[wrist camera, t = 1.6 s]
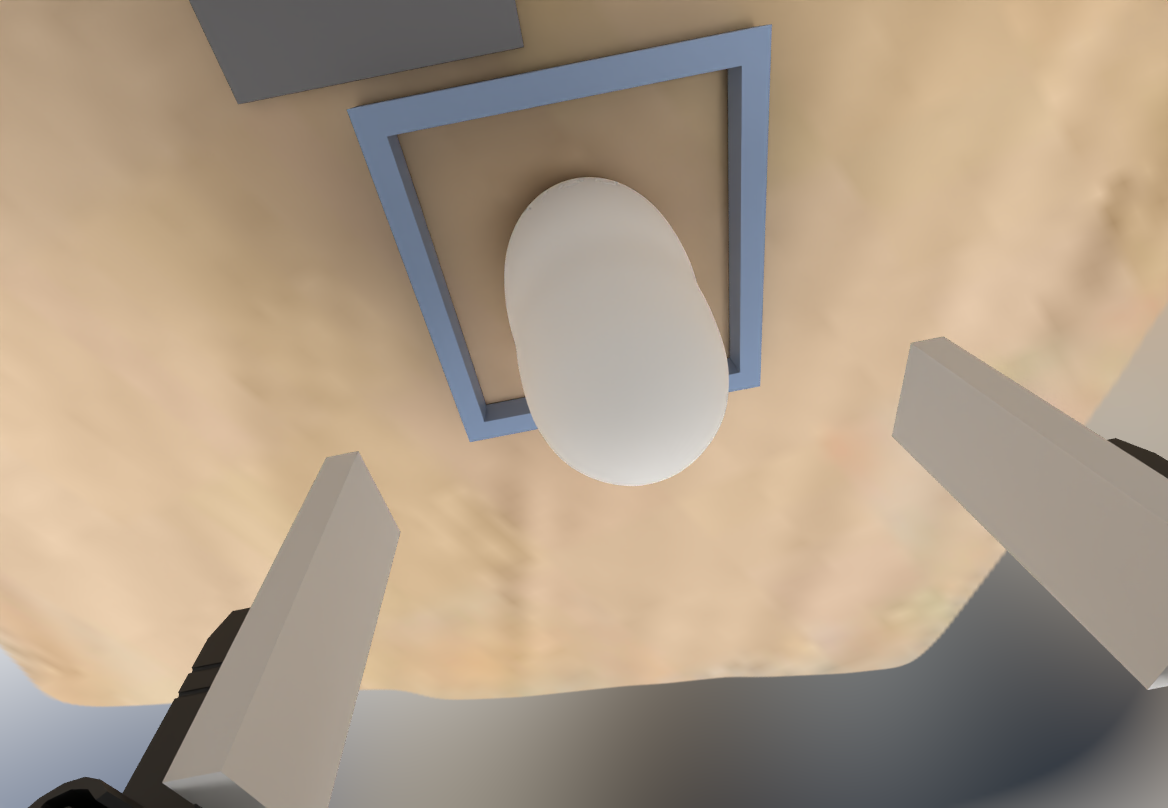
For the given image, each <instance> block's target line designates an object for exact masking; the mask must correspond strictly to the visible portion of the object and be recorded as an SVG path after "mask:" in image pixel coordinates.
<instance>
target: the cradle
mask: <svg viewBox="0 0 1168 808" xmlns="http://www.w3.org/2000/svg"><path fill="white" fill-rule="evenodd" d="M771 31H772V24H771V25H764V26H756V27H751V28H746V29H741V30H736V31H731V32H726V33H721V34H716V35H711V36H706V37H701V38H696V39H691V40H686V41H681V42H676V43H671V44H666V45H661V46H656V47H651V48H646V49H641V50H636V51H631V52H626V53H621V54H616V55H611V56H606V57H601V58H596V59H591V60H586V61H581V62H576V63H571V64H566V65H561V66H556V67H551V68H546V69H541V70H536V71H531V72H526V73H521V74H516V75H511V76H506V77H501V78H496V79H491V80H486V81H481V82H476V83H471V84H466V85H461V86H456V87H451V88H446V89H441V90H436V91H431V92H426V93H421V94H416V95H411V96H406V97H401V98H396V99H391V100H386V101H381V102H376V103H371V104H366V105H361V106H357V107H354V108H350V109H347V112H348V115H349V117H350V120H351V123H352V125H353V128H354V131H355V133H356V136H357V139H358V142H359V144H360V147H361V150H362V152H363V155H364V158H365V160H366V163H367V166H368V169H369V171H370V174H371V177H372V179H373V182H374V185H375V187H376V190H377V193H378V195H379V198H380V201H381V204H382V206H383V209H384V212H385V214H386V217H387V220H388V222H389V225H390V228H391V231H392V233H393V236H394V239H395V241H396V244H397V247H398V249H399V252H400V255H401V257H402V260H403V263H404V266H405V268H406V271H407V274H408V276H409V279H410V282H411V284H412V287H413V290H414V293H415V295H416V298H417V301H418V303H419V306H420V309H421V311H422V314H423V317H424V320H425V322H426V325H427V328H428V330H429V333H430V336H431V338H432V341H433V344H434V346H435V349H436V352H437V355H438V357H439V360H440V363H441V365H442V368H443V371H444V373H445V376H446V379H447V382H448V384H449V387H450V390H451V392H452V395H453V398H454V400H455V403H456V406H457V409H458V411H459V414H460V417H461V419H462V422H463V425H464V427H465V430H466V433H467V435H468V438H469V441H470V442H473V441H478V440H483V439H489V438H494V437H499V436H504V435H509V434H515V433H520V432H525V431H530V430H535V429H538V428H537V426H536V424H535V422H534V420H533V418H532V415H531V413H530V410H529V407H528V404H527V401H526V397H524V398H519V399H514V400H509V401H504V402H499V403H494V404H488V405H486V403H485V400H484V397H483V394H482V391H481V388H480V385H479V382H478V379H477V376H476V373H475V370H474V367H473V364H472V361H471V358H470V355H469V352H468V349H467V346H466V342H465V339H464V336H463V333H462V330H461V327H460V324H459V321H458V318H457V315H456V312H455V309H454V306H453V303H452V300H451V297H450V294H449V291H448V288H447V285H446V282H445V279H444V276H443V273H442V270H441V267H440V264H439V261H438V258H437V255H436V252H435V249H434V246H433V243H432V240H431V237H430V234H429V231H428V228H427V225H426V222H425V219H424V216H423V213H422V210H421V207H420V204H419V200H418V197H417V194H416V191H415V188H414V185H413V182H412V179H411V176H410V173H409V170H408V167H407V164H406V161H405V158H404V155H403V152H402V149H401V146H400V143H399V140H398V137H397V134H402V133H407V132H412V131H417V130H422V129H427V128H432V127H437V126H442V125H447V124H452V123H457V122H462V121H467V120H472V119H477V118H482V117H487V116H492V115H497V114H502V113H507V112H512V111H517V110H522V109H527V108H532V107H537V106H542V105H547V104H552V103H557V102H562V101H567V100H572V99H577V98H582V97H587V96H592V95H597V94H602V93H607V92H612V91H617V90H622V89H627V88H632V87H637V86H642V85H647V84H652V83H657V82H662V81H667V80H672V79H677V78H682V77H688V76H693V75H698V74H703V73H708V72H713V71H718V70H723V69H728V183H729V329H730V358H727V362H728V371H729V390H728V392H732V391H737V390H742V389H748V388H753V387H758V386H760V372H761V341H762V310H763V279H764V248H765V217H766V186H767V155H768V124H769V93H770V62H771Z"/></svg>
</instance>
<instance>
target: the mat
mask: <svg viewBox="0 0 1168 808" xmlns="http://www.w3.org/2000/svg"><path fill="white" fill-rule="evenodd" d="M189 1H190V3H191V5H192V8H193V10H194V12H195V14H196V16H197V18H198V20H199V22H200V25H201V27H202V29H203V31H204V33H205V35H206V37H207V39H208V41H209V44H210V46H211V48H212V50H213V52H214V54H215V56H216V58H217V61H218V63H219V65H220V67H221V69H222V71H223V73H224V75H225V77H226V80H227V82H228V84H229V86H230V88H231V90H232V92H233V94H234V97H235V99H236V101H237V103H238V104H242V103H248V102H253V101H258V100H263V99H267V98H272V97H277V96H282V95H287V94H292V93H297V92H302V91H307V90H312V89H317V88H322V87H327V86H332V85H337V84H342V83H347V82H352V81H357V80H362V79H367V78H372V77H377V76H382V75H387V74H392V73H397V72H402V71H407V70H412V69H417V68H422V67H427V66H432V65H437V64H442V63H447V62H452V61H457V60H462V59H467V58H472V57H477V56H482V55H486V54H491V53H496V52H501V51H506V50H511V49H516V48H521V47H524V45H523V40H522V35H521V29H520V24H519V19H518V14H517V8H516V3H515V0H189Z"/></svg>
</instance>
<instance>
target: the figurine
mask: <svg viewBox="0 0 1168 808" xmlns="http://www.w3.org/2000/svg"><path fill="white" fill-rule="evenodd" d="M504 287H505V300H506V308H507V314H508V319H509V323H510V328H511V331H512V335H513V338H514V342H515V345H516V351H517V361H518V367H519V373H520V377H521V382H522V386H523V390H524V394H525V397H526V401H527V404H528V407H529V410H530V413H531V415H532V418H533V420H534V422H535V424H536V426H537V428H538V430H539V431H540V433H541V435H542V436H543V438H544V439H545V441H546V442H547V443H548V445H549V446H550V447H551V448H552V450H553V451H554V452H555V453H556V454H557V455H558V456H559V457H560V458H561V459H562V460H563V461H564V462H565V463H566V464H568V465H569V466H570V467H572V468H573V469H575V470H577V471H578V472H580V473H582V474H584V475H586V476H588V477H590V478H593V479H596V480H599V481H602V482H605V483H610V484H615V485H623V486H640V485H647V484H652V483H656V482H660V481H662V480H665V479H668V478H670V477H672V476H674V475H676V474H678V473H679V472H681V471H682V470H684V469H685V468H686V467H688V466H689V465H690V464H692V463H693V462H694V461H695V460H696V459H697V458H698V457H699V456H700V455H701V454H702V453H703V452H704V450H705V449H706V448H707V447H708V445H709V444H710V443H711V441H712V440H713V438H714V436H715V435H716V433H717V431H718V429H719V427H720V425H721V423H722V420H723V417H724V414H725V411H726V406H727V400H728V390H729V371H728V362H727V357H726V352H725V348H724V344H723V341H722V338H721V335H720V332H719V329H718V327H717V324H716V321H715V319H714V316H713V314H712V312H711V309H710V307H709V305H708V303H707V301H706V299H705V297H704V295H703V293H702V292H701V290H700V288H699V286H698V284H697V281H696V278H695V274H694V271H693V268H692V266H691V263H690V261H689V258H688V256H687V254H686V252H685V250H684V248H683V246H682V244H681V242H680V240H679V238H678V237H677V235H676V233H675V232H674V230H673V229H672V227H671V226H670V224H669V223H668V221H667V220H666V219H665V217H664V216H663V215H662V214H661V213H660V211H659V210H658V209H657V208H656V207H655V206H654V205H653V204H652V203H651V202H650V201H648V200H647V199H646V198H645V197H644V196H642V195H641V194H639V193H638V192H636V191H635V190H633V189H631V188H630V187H628V186H626V185H624V184H621V183H619V182H616V181H613V180H609V179H604V178H597V177H582V178H575V179H570V180H567V181H563V182H561V183H558V184H556V185H554V186H552V187H550V188H549V189H547V190H545V191H544V192H543V193H541V194H540V195H539V196H538V197H536V198H535V199H534V200H533V201H532V202H531V203H530V204H529V206H528V207H527V208H526V209H525V211H524V212H523V213H522V215H521V216H520V218H519V220H518V222H517V223H516V225H515V228H514V230H513V232H512V235H511V238H510V241H509V244H508V248H507V253H506V259H505V270H504Z"/></svg>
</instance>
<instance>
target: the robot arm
mask: <svg viewBox="0 0 1168 808" xmlns="http://www.w3.org/2000/svg"><path fill="white" fill-rule="evenodd" d="M892 437H893V438H894V439H895V440H896V441H897V442H898V443H899V444H900V445H901V446H902V447H903V448H904V449H905V450H906V451H907V452H908V453H909V454H910V455H911V456H912V457H913V458H914V459H915V460H916V461H917V462H919V463H920V464H921V465H922V466H923V467H924V468H925V469H926V470H927V471H928V472H929V473H930V474H931V475H932V476H933V477H934V478H935V479H936V480H937V481H938V482H939V483H940V484H941V485H942V486H943V487H944V488H945V489H946V490H947V491H948V492H949V493H950V494H951V495H952V496H953V497H954V498H955V499H956V500H957V501H958V502H959V503H960V504H961V505H962V506H963V507H964V508H965V509H966V510H967V511H968V512H969V513H970V514H971V515H972V516H973V517H974V518H975V519H976V520H977V521H978V522H979V523H980V524H981V525H982V526H983V527H984V528H985V529H986V530H987V531H988V532H989V533H990V534H991V535H992V536H993V537H994V538H995V539H996V540H997V541H998V542H999V543H1000V544H1001V545H1002V546H1003V547H1004V548H1005V549H1006V550H1007V551H1008V552H1009V553H1010V554H1011V555H1012V556H1013V557H1014V558H1015V559H1017V561H1018V562H1019V563H1020V564H1021V565H1023V566H1024V568H1025V569H1026V570H1027V571H1028V572H1029V573H1030V574H1031V575H1032V576H1033V577H1034V578H1035V579H1037V580H1038V581H1039V582H1040V583H1041V584H1042V585H1043V586H1044V587H1045V588H1046V589H1047V590H1048V591H1049V592H1050V593H1051V594H1052V595H1053V596H1054V597H1055V598H1056V599H1057V600H1058V601H1059V602H1060V603H1061V604H1062V605H1063V606H1064V607H1065V608H1066V609H1067V610H1068V611H1069V612H1070V613H1071V614H1072V615H1073V616H1074V617H1075V618H1076V619H1077V620H1078V621H1079V622H1080V623H1081V624H1082V625H1083V626H1084V627H1085V628H1086V629H1087V630H1088V631H1089V632H1090V633H1091V634H1092V635H1093V636H1094V637H1095V638H1096V639H1097V640H1098V641H1099V642H1100V643H1101V644H1102V645H1103V646H1104V647H1105V648H1106V649H1107V650H1108V651H1109V652H1110V653H1111V654H1112V655H1113V656H1114V657H1115V658H1116V659H1117V660H1118V661H1119V662H1120V663H1121V664H1122V665H1123V666H1124V667H1125V668H1127V670H1128V671H1129V672H1130V673H1131V674H1132V675H1133V676H1134V677H1136V678H1137V680H1138V681H1139V682H1140V683H1142V685H1143V686H1144V687H1145V688H1146V689H1148V690H1149V689H1154V688H1159V687H1165V686H1168V461H1167V460H1165V459H1164V458H1162V457H1161V456H1159V455H1157V454H1156V453H1153V452H1150V451H1148V450H1145V449H1143V448H1140V447H1137V446H1134V445H1132V444H1130V443H1127V442H1124V441H1122V440H1119V439H1116V438H1115V439H1109V440H1106V439H1104V438H1103V437H1101V436H1100V435H1098V434H1096V433H1095V432H1093V431H1092V430H1090V429H1089V428H1087V427H1085V426H1084V425H1082V424H1081V423H1079V422H1078V421H1076V420H1074V419H1073V418H1071V417H1070V416H1068V415H1066V414H1065V413H1063V412H1062V411H1060V410H1059V409H1057V408H1055V407H1054V406H1052V405H1051V404H1049V403H1048V402H1046V401H1044V400H1043V399H1041V398H1040V397H1038V396H1037V395H1035V394H1033V393H1032V392H1030V391H1029V390H1027V389H1025V388H1024V387H1022V386H1021V385H1019V384H1018V383H1016V382H1014V381H1013V380H1011V379H1010V378H1008V377H1007V376H1005V375H1003V374H1002V373H1000V372H999V371H997V370H995V369H994V368H992V367H991V366H989V365H988V364H986V363H984V362H983V361H981V360H980V359H978V358H977V357H975V356H973V355H972V354H970V353H969V352H967V351H966V350H964V349H962V348H961V347H959V346H958V345H956V344H954V343H953V342H951V341H950V340H948V339H947V338H945V337H939V338H934V339H928V340H923V341H918V342H913V343H911V345H910V350H909V355H908V360H907V365H906V370H905V375H904V380H903V385H902V390H901V395H900V399H899V404H898V409H897V414H896V419H895V424H894V429H893V434H892ZM399 536H400V530H399V528H398V526H397V524H396V522H395V520H394V519H393V517H392V515H391V513H390V511H389V509H388V507H387V505H386V503H385V501H384V499H383V497H382V496H381V494H380V492H379V490H378V488H377V486H376V484H375V482H374V480H373V478H372V476H371V474H370V473H369V471H368V469H367V467H366V465H365V463H364V461H363V459H362V457H361V455H360V453H359V451H356V452H351V453H346V454H341V455H336V456H331V457H326V459H325V461H324V463H323V465H322V467H321V469H320V471H319V473H318V475H317V477H316V479H315V481H314V483H313V485H312V487H311V489H310V491H309V493H308V495H307V497H306V499H305V501H304V503H303V505H302V507H301V509H300V511H299V513H298V515H297V517H296V518H295V520H294V522H293V524H292V526H291V528H290V530H289V532H288V534H287V536H286V538H285V540H284V542H283V544H282V546H281V548H280V550H279V552H278V554H277V556H276V558H275V560H274V562H273V564H272V566H271V568H270V570H269V572H268V574H267V576H266V578H265V580H264V582H263V584H262V586H261V588H260V590H259V592H258V594H257V596H256V598H255V600H254V602H253V604H252V606H251V608H246V609H241V610H236V611H232V612H231V614H230V615H229V616H228V617H227V618H226V619H225V620H224V621H223V622H222V623H221V625H220V626H219V627H218V628H217V629H216V630H215V631H214V632H213V633H212V635H211V636H210V637H209V638H208V639H207V641H206V643H205V645H204V647H203V648H202V650H201V652H200V654H199V656H198V657H197V659H196V661H195V663H194V665H193V667H192V669H193V671H192V673H189V674H188V676H187V677H186V679H185V681H184V683H183V685H182V686H181V688H180V690H179V692H178V693H179V697H178V698H176V699H174V701H173V703H172V705H171V707H170V708H169V710H168V712H167V714H166V716H165V717H164V719H163V721H162V723H161V725H160V727H159V728H158V730H157V732H156V734H155V735H154V737H153V739H152V741H151V743H150V744H149V746H148V748H147V750H146V752H145V754H144V755H143V757H142V759H141V761H140V763H139V765H138V766H137V768H136V770H135V772H134V773H133V775H132V777H131V779H130V781H129V783H128V784H127V786H126V788H125V790H124V792H123V793H120V792H119V791H118V790H116V789H114V788H113V787H111V786H109V785H108V784H106V783H105V782H103V781H102V780H100V779H94V778H89V777H83V778H80V779H77V780H73V781H70V782H67V783H64V784H62V785H61V786H59V787H57V788H55V789H54V790H52V791H50V792H49V793H47V794H45V795H44V796H42V797H40V798H39V799H38V800H37V801H35V802H34V803H33V804H32V805H31V806H30V807H28V808H328V805H329V801H330V798H331V794H332V790H333V786H334V782H335V779H336V775H337V771H338V767H339V764H340V760H341V756H342V752H343V748H344V745H345V741H346V737H347V733H348V729H349V726H350V722H351V718H352V714H353V710H354V706H355V703H356V699H357V695H358V691H359V688H360V684H361V680H362V676H363V672H364V669H365V665H366V661H367V657H368V653H369V650H370V646H371V642H372V638H373V634H374V631H375V627H376V623H377V619H378V615H379V612H380V608H381V604H382V600H383V596H384V593H385V589H386V585H387V581H388V577H389V574H390V570H391V566H392V562H393V558H394V555H395V551H396V547H397V543H398V539H399Z"/></svg>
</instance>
